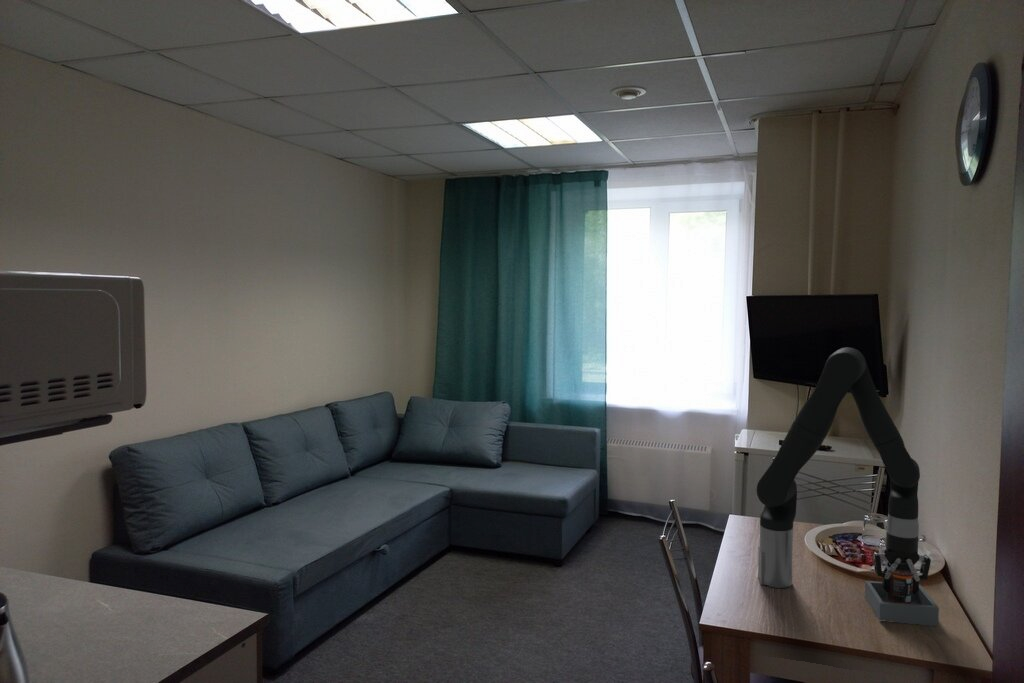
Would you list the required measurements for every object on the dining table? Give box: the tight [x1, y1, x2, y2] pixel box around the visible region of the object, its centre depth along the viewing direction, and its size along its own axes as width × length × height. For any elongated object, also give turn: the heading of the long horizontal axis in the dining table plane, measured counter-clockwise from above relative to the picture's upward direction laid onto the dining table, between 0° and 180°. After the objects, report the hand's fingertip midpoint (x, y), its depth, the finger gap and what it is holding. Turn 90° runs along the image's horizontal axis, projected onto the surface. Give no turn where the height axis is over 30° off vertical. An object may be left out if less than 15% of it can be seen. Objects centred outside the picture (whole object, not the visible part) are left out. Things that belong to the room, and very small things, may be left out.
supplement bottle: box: [888, 562, 913, 604], centre depth 190 cm, size 6×6×11 cm
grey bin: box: [864, 580, 940, 627], centre depth 191 cm, size 14×14×5 cm
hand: (900, 591), depth 191 cm, fingers closed on supplement bottle, 6 cm apart
